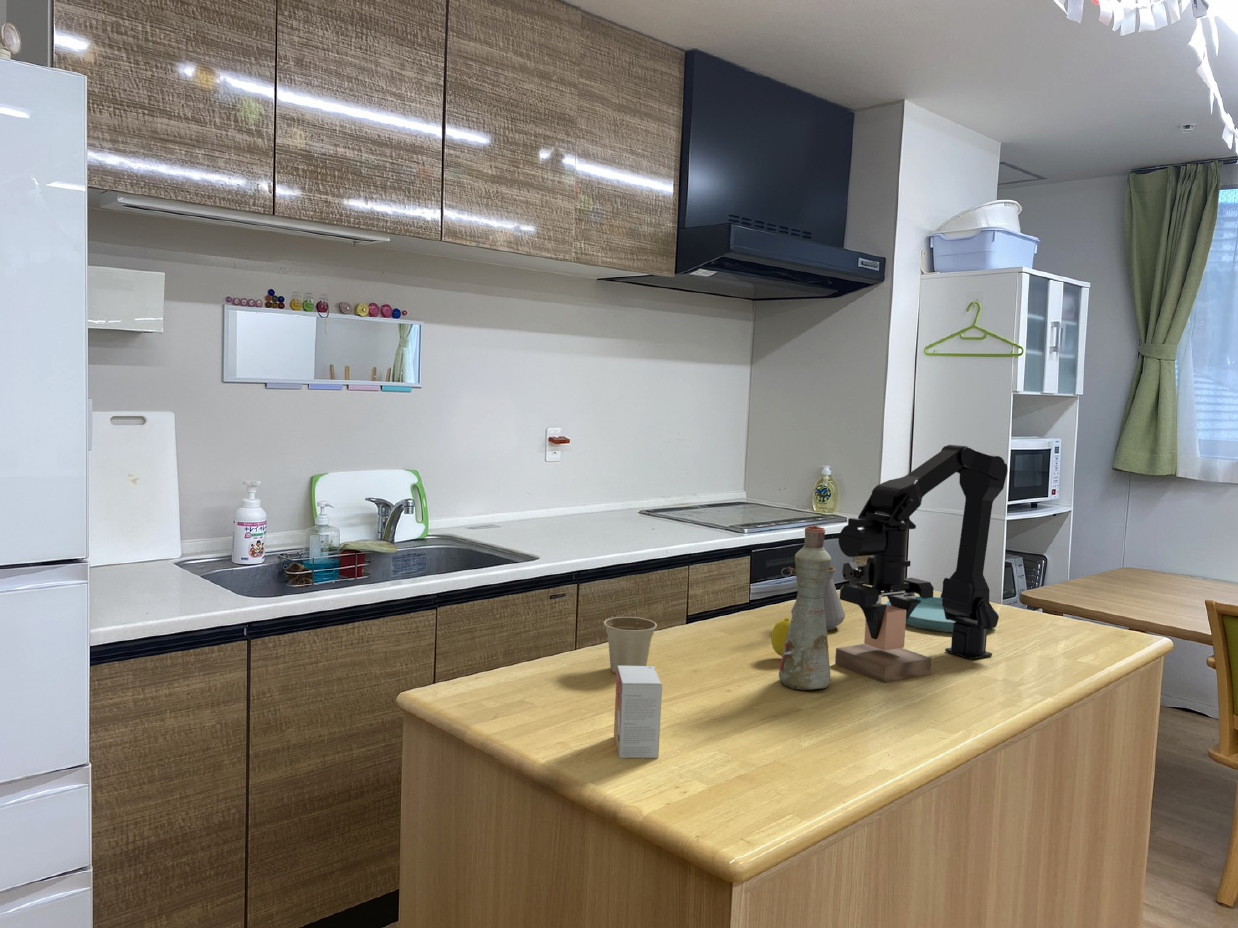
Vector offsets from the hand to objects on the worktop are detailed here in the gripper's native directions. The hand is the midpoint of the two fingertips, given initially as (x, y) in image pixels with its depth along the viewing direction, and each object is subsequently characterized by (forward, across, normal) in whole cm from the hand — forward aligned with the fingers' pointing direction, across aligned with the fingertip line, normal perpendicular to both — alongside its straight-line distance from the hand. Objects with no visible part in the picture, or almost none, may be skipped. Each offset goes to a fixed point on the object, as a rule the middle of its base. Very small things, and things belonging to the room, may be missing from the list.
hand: (884, 637), depth 167 cm
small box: (+6, +61, +12) cm, 62 cm away
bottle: (+6, +20, +1) cm, 21 cm away
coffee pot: (+6, -6, -27) cm, 28 cm away
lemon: (+6, +13, -12) cm, 19 cm away
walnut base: (+6, 0, 0) cm, 6 cm away
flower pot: (+6, +44, -18) cm, 48 cm away
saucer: (+7, -41, -21) cm, 46 cm away
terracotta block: (+2, 0, 0) cm, 2 cm away
